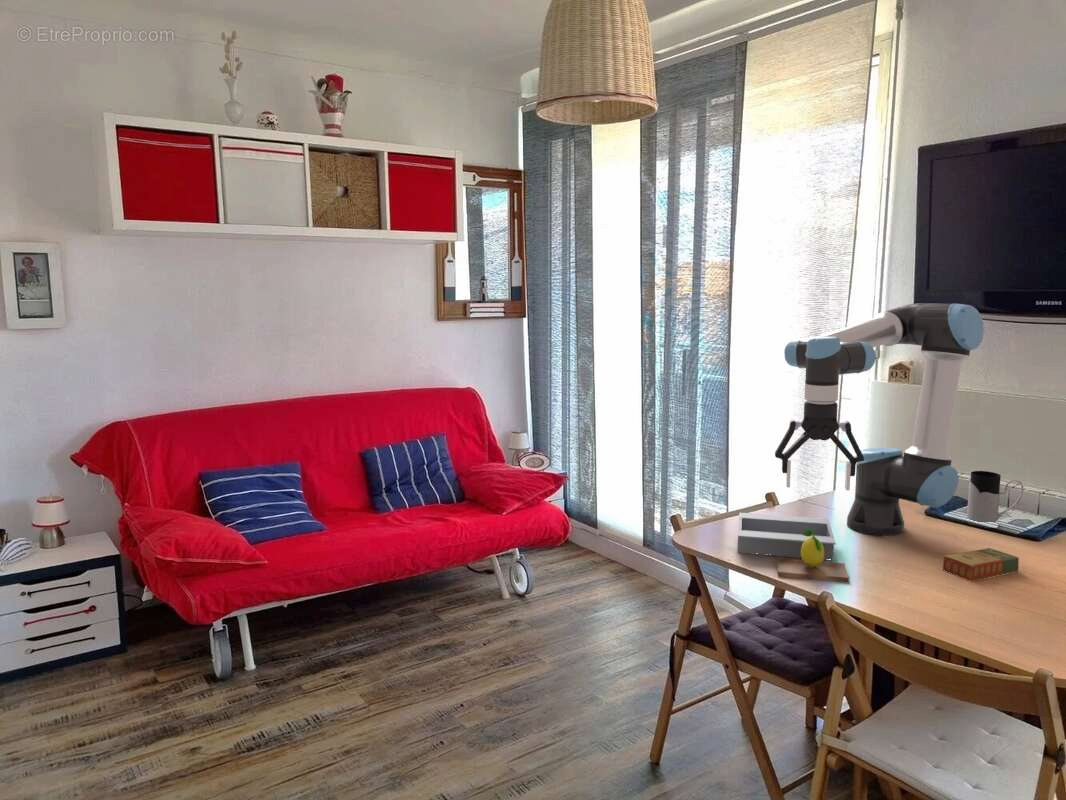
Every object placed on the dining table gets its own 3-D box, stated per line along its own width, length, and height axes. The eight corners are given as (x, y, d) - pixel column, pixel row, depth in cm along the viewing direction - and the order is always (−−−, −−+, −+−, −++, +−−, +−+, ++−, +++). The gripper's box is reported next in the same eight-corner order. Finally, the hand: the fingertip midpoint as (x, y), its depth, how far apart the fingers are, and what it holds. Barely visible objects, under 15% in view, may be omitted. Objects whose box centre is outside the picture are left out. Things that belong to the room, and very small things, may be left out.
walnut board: (844, 567, 198) (844, 563, 198) (848, 582, 189) (848, 577, 188) (776, 562, 202) (777, 557, 202) (778, 576, 193) (778, 571, 193)
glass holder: (961, 518, 237) (965, 469, 235) (1014, 522, 233) (1019, 472, 231) (968, 527, 229) (972, 476, 226) (1024, 531, 225) (1029, 479, 223)
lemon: (801, 560, 200) (803, 522, 198) (826, 565, 197) (828, 526, 195) (795, 569, 194) (797, 529, 192) (820, 573, 191) (822, 533, 189)
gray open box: (827, 539, 219) (828, 518, 218) (834, 566, 199) (835, 543, 198) (738, 533, 225) (739, 512, 224) (737, 557, 206) (737, 535, 205)
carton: (941, 571, 196) (942, 554, 196) (988, 562, 202) (989, 546, 202) (971, 582, 189) (972, 565, 188) (1018, 573, 195) (1020, 556, 194)
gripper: (874, 400, 191) (870, 486, 194) (766, 397, 197) (763, 480, 200) (879, 405, 184) (874, 494, 187) (766, 402, 190) (764, 488, 193)
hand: (817, 487), depth 194 cm, fingers open, 13 cm apart
